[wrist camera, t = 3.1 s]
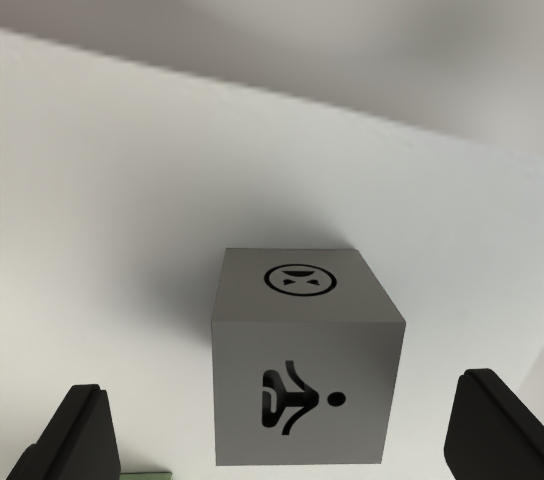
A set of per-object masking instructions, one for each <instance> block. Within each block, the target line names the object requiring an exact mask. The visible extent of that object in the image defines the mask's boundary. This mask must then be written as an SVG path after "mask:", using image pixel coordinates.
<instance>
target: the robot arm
mask: <svg viewBox="0 0 544 480" xmlns="http://www.w3.org/2000/svg"><path fill="white" fill-rule="evenodd" d="M444 457H445V460H446V463H447V465H448V467H449V468H450V470H451V472H452V474H453V476H454V477H455V479H456V480H544V426H543V425H542V423H541V422H540V421H539V420H538V419H537V418H536V417H535V416H534V415H533V414H532V413H531V412H530V410H529V409H528V408H527V407H526V406H525V405H524V404H523V403H522V402H521V401H520V400H519V399H518V397H517V396H516V395H515V394H514V393H513V392H512V391H511V390H510V389H509V388H508V386H507V385H506V384H505V383H504V382H503V381H502V380H501V379H500V378H499V377H498V376H497V374H496V373H495V372H494V371H492V370H491V369H488V368H485V369H468V370H466V371H465V372H464V375H461V376H460V377H459V379H458V384H457V389H456V393H455V398H454V403H453V407H452V412H451V417H450V421H449V426H448V431H447V435H446V440H445V445H444ZM120 472H121V466H120V460H119V454H118V449H117V444H116V438H115V433H114V428H113V422H112V417H111V412H110V406H109V401H108V396H107V392H106V390H100V387H99V385H98V384H87V385H74V386H72V387H71V388H70V390H69V391H68V393H67V395H66V396H65V398H64V399H63V401H62V403H61V404H60V406H59V407H58V409H57V411H56V412H55V414H54V416H53V417H52V419H51V420H50V422H49V424H48V425H47V427H46V428H45V430H44V432H43V433H42V435H41V436H40V438H39V440H38V441H37V443H36V444H32V445H30V446H29V447H28V448H27V449H26V450H25V451H24V452H23V454H22V455H21V457H20V458H19V460H18V461H17V463H16V465H15V466H14V468H13V469H12V471H11V472H10V474H9V475H8V477H7V479H6V480H119V478H120Z"/></svg>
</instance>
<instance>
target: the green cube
mask: <svg viewBox="0 0 544 480" xmlns="http://www.w3.org/2000/svg"><path fill="white" fill-rule="evenodd" d="M119 480H173V479H172V473H147V474H120V478H119Z"/></svg>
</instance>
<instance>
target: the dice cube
mask: <svg viewBox="0 0 544 480" xmlns="http://www.w3.org/2000/svg"><path fill="white" fill-rule="evenodd" d="M405 327H406V321H405V320H404V318H403V317H402V315H401V314H400V312H399V311H398V309H397V308H396V306H395V305H394V303H393V302H392V300H391V299H390V298H389V296H388V295H387V293H386V292H385V290H384V289H383V287H382V286H381V284H380V283H379V281H378V280H377V278H376V277H375V275H374V274H373V272H372V271H371V269H370V268H369V266H368V265H367V263H366V262H365V260H364V259H363V257H362V256H361V254H360V253H359V251H358V250H327V249H247V248H226V253H225V257H224V262H223V267H222V272H221V277H220V282H219V287H218V291H217V296H216V301H215V306H214V311H213V316H212V321H211V329H212V360H213V391H214V421H215V452H216V466H242V465H314V464H381V461H382V455H383V450H384V444H385V439H386V433H387V427H388V422H389V416H390V411H391V405H392V399H393V394H394V388H395V383H396V377H397V371H398V366H399V360H400V355H401V349H402V343H403V338H404V332H405Z"/></svg>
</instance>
